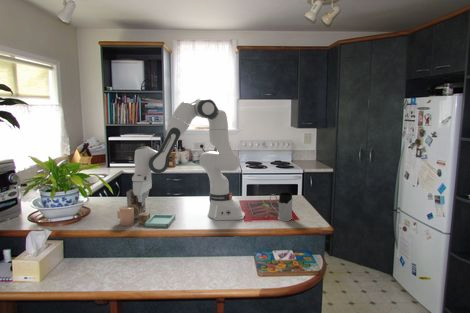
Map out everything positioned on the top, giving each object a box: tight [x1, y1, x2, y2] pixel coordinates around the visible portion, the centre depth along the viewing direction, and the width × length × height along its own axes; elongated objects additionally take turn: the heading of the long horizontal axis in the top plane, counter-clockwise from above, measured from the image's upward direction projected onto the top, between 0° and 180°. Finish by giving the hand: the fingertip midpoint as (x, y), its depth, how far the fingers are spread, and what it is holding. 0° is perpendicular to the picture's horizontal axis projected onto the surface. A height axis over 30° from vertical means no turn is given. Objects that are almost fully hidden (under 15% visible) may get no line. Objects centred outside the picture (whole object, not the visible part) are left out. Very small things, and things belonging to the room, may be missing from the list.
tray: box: [144, 213, 176, 228], centre depth 187 cm, size 13×16×2 cm
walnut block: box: [138, 212, 151, 225], centre depth 187 cm, size 5×5×5 cm
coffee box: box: [126, 188, 147, 219], centre depth 195 cm, size 9×6×16 cm
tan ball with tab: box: [116, 205, 135, 227], centre depth 184 cm, size 9×8×9 cm
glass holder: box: [269, 192, 293, 222], centre depth 195 cm, size 9×14×15 cm, turn 64°
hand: (143, 199), depth 185 cm, fingers open, 8 cm apart
